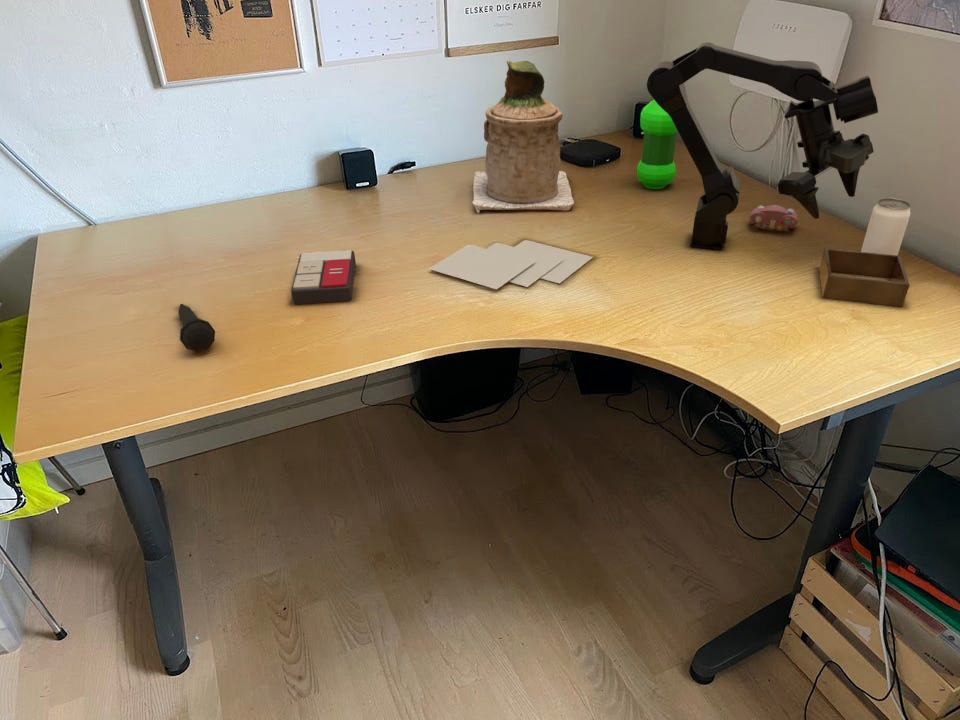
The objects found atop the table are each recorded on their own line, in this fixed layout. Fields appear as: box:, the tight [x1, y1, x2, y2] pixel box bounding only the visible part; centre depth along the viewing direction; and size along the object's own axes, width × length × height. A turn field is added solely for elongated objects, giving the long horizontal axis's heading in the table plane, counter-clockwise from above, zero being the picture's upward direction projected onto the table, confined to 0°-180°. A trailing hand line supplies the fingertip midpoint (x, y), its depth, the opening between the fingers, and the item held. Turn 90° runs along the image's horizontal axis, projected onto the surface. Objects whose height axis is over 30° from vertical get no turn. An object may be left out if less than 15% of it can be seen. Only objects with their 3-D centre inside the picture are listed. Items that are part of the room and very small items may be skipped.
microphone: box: [178, 303, 216, 353], centre depth 128 cm, size 6×6×20 cm
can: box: [860, 197, 911, 256], centre depth 141 cm, size 6×6×12 cm
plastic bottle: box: [636, 99, 679, 190], centre depth 176 cm, size 10×10×25 cm
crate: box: [818, 247, 910, 308], centre depth 134 cm, size 13×12×4 cm
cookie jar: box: [471, 59, 575, 214], centre depth 172 cm, size 25×25×32 cm
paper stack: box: [428, 239, 594, 290], centre depth 147 cm, size 23×25×1 cm
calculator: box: [290, 249, 357, 305], centre depth 141 cm, size 11×4×15 cm
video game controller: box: [749, 204, 799, 232], centre depth 157 cm, size 10×5×7 cm, turn 68°
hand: (834, 207), depth 141 cm, fingers open, 9 cm apart
